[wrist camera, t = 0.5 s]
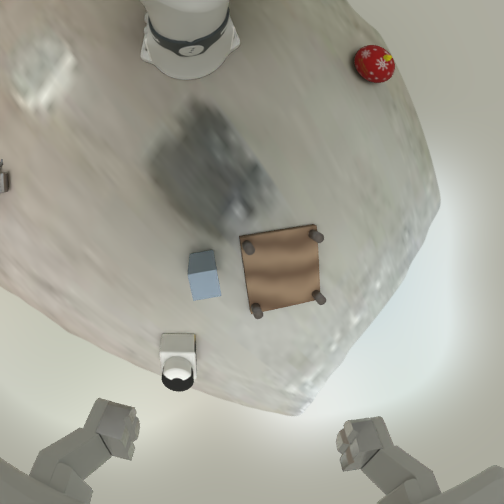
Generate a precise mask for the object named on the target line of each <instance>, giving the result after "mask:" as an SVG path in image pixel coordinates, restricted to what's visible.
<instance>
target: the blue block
mask: <svg viewBox="0 0 504 504" xmlns="http://www.w3.org/2000/svg"><path fill="white" fill-rule="evenodd" d="M188 279H189V283H190V288H191V292H192V296H193V301H195V300H201V299H207V298H212V297H218V296H221V291H220V285H219V280H218V274H217V269H216V263H215V257H214V252H213V250H209V251H204V252H198V253H192V254H190V257H189V266H188Z"/></svg>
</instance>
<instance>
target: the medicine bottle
mask: <svg viewBox="0 0 504 504" xmlns="http://www.w3.org/2000/svg"><path fill="white" fill-rule="evenodd" d="M159 355H160V363H161V369H162V382H163V384H164V385H165V386H166V387H167V388H169V389H170V390H173V391H185V390H187V389H189V388H190V387H191V386H192V385H193V382H194V379H196V378H197V366H196V341H195V334H162V339H161V345H160V351H159Z"/></svg>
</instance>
